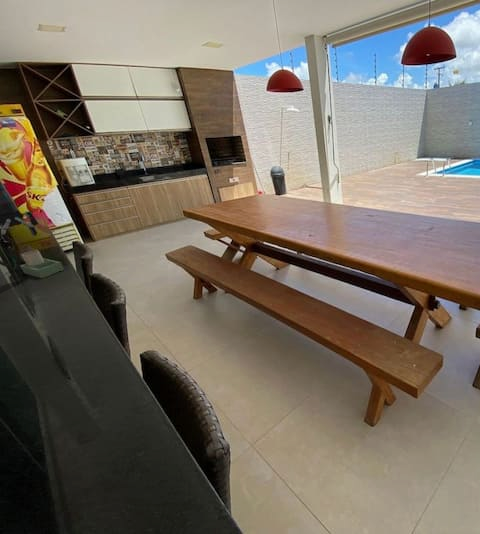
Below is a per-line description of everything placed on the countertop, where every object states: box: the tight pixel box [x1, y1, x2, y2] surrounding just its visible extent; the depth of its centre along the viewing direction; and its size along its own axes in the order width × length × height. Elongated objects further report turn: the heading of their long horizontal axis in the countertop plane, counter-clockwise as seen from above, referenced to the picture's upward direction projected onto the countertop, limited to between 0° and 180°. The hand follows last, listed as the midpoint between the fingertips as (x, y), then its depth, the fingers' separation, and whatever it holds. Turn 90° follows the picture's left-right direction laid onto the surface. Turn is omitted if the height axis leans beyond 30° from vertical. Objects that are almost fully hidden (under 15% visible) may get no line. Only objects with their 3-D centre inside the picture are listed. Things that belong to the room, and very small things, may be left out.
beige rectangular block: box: [22, 249, 45, 267], centre depth 139 cm, size 6×6×9 cm
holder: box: [19, 257, 66, 279], centre depth 139 cm, size 8×16×4 cm, turn 66°
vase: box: [19, 245, 37, 263], centre depth 149 cm, size 7×7×9 cm
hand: (22, 238), depth 134 cm, fingers open, 8 cm apart
